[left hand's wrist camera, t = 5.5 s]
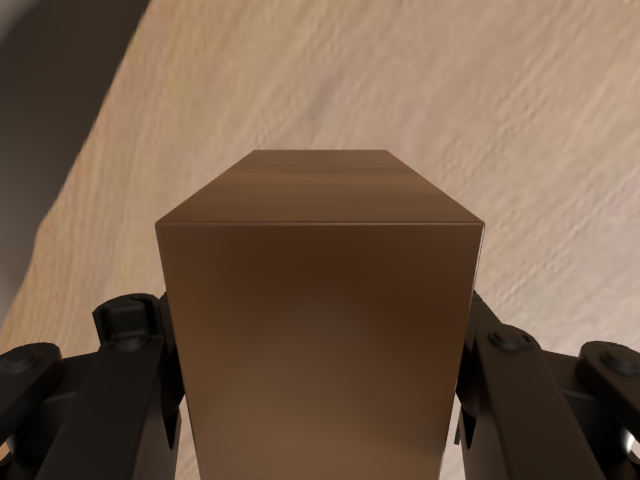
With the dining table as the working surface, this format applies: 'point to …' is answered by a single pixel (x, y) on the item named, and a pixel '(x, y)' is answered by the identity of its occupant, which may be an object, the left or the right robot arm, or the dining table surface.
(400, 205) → the bar
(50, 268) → the dining table surface
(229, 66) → the dining table surface
